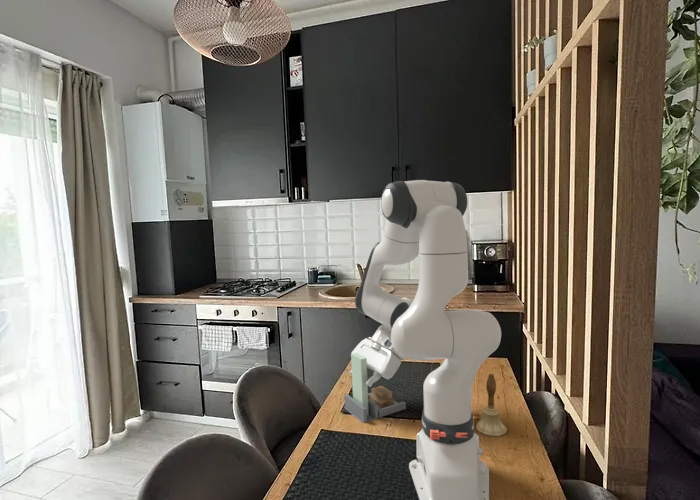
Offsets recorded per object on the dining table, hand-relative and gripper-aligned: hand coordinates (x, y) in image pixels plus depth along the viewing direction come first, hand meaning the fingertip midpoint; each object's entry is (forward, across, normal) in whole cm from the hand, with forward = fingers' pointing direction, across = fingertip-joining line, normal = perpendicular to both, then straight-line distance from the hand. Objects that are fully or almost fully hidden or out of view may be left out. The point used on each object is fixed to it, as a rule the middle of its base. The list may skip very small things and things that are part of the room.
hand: (359, 379), depth 125 cm
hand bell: (-11, +28, +27) cm, 40 cm away
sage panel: (+7, 0, +7) cm, 10 cm away
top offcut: (0, 0, +11) cm, 11 cm away
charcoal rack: (+4, 0, +12) cm, 12 cm away
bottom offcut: (+2, 0, +13) cm, 13 cm away
